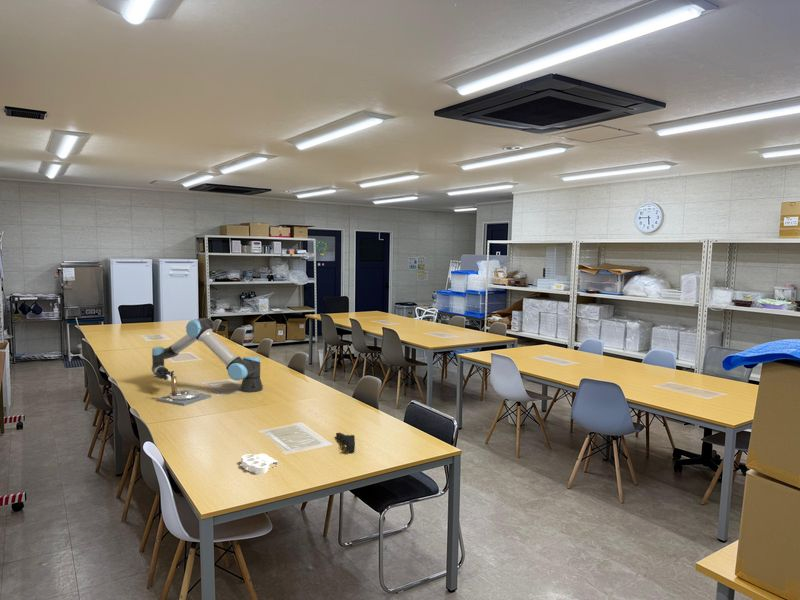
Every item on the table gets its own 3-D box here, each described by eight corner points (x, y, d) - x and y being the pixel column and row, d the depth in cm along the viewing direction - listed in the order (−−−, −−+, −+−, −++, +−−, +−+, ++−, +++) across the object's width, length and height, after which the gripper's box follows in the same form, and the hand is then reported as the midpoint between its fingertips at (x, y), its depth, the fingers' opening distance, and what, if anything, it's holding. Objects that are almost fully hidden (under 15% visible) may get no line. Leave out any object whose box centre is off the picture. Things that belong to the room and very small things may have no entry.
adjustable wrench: (341, 446, 277) (355, 453, 254) (336, 447, 276) (349, 454, 252) (340, 430, 277) (354, 435, 254) (335, 430, 276) (349, 436, 253)
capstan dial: (205, 394, 346) (205, 373, 345) (183, 401, 330) (182, 379, 329) (185, 391, 354) (185, 370, 353) (163, 397, 338) (162, 376, 337)
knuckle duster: (282, 469, 235) (251, 477, 226) (263, 457, 249) (233, 464, 239) (282, 461, 235) (251, 470, 225) (263, 450, 248) (233, 457, 239)
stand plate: (211, 397, 348) (211, 393, 348) (184, 405, 327) (184, 402, 327) (185, 392, 357) (185, 389, 357) (157, 401, 336) (156, 397, 336)
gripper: (171, 376, 368) (180, 382, 349) (151, 378, 360) (159, 385, 341) (171, 365, 367) (180, 371, 348) (151, 367, 360) (158, 374, 341)
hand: (169, 378), depth 345 cm, fingers closed
